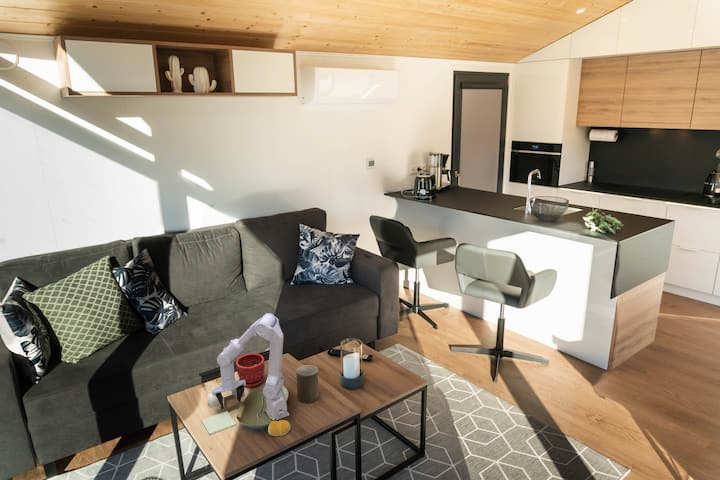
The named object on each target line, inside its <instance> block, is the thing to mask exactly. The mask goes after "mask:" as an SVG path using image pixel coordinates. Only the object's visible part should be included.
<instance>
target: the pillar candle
mask: <svg viewBox="0 0 720 480" xmlns="http://www.w3.org/2000/svg"><path fill="white" fill-rule="evenodd" d="M295 373H296V375H295V376H296V396H297V397H296V398H297V401H298V402H300V403H303V404H312V403H314V402H316V401H318V400H319V398H320V397H319V368H318V367H317V366H316V365H312V364H306V365H305V364H304V365H301V366H299V367H297V368H296V371H295Z"/></svg>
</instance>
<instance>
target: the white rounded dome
mask: <svg viewBox="0 0 720 480" xmlns="http://www.w3.org/2000/svg"><path fill="white" fill-rule="evenodd" d="M206 397H207V403H208V407H210V408H217V407H218V406H220V403H219V401H218V399H217V397H216V396H213V395H212V390H211V391H209V392H208V393H207V396H206Z"/></svg>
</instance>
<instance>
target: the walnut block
mask: <svg viewBox="0 0 720 480" xmlns="http://www.w3.org/2000/svg"><path fill="white" fill-rule="evenodd" d="M238 405H239V403H238V400H237V398H236V397H235V396H234V394H232V393H231V394H230V395H226V396H223V406H224V408H223V409H225V410H226V411H227V412H228V413H230V412H232V411H236V410H238V409H239V406H238Z"/></svg>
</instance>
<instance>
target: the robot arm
mask: <svg viewBox="0 0 720 480" xmlns="http://www.w3.org/2000/svg"><path fill="white" fill-rule="evenodd" d="M279 321H280V319H279V318H278V317H276V316H275V315H274V314H273V313H270V312H267V313H265V314H263V316H262V317H260V318H258V319H257V320H256V321H255V322H254V323H252V325H250V327H248V328H247V330H246V331H245V332H244V333H243V334H242V336H240V338H234V339H231V340H230V341H229V344H228V345H227V346H225V347H224V348H223V349H222V351H221V352H220V354H218V356H217V358H216V363H217V365H219V369H220V371H219V372H220V380H221V384H220V386H218V387H216V388H215V389H211V391H212V395H213V396H216V397H217V399H218V401H219V403H220V405H219V407H220V408H221V409H225V408H224V398H223V397H224V396H223V394H222V393H227V392H232V390H234V389H235V388H236V391H237V403H238V404H239V403H241V402H242V398H243V397H242V394H243V392H244V391H246V390H245V389H246V388H245V387H246V381H245V380H241V381H239V380H236V374H235V364H234V363H235V361H234V360H235V358H237V357H238V356H239V355H240V353H242V352H243V351H244V350H245V347H246V345H245V344H246V343H247V342H248V341H249V340H250V339H252V337H254V336H255V337H258V336H259V337H261V338H263V339H265V340H267V342H269V343H270V344H269V356H268V369H267V370H268V373H267V378H266V381H265V385H264V387H263V389H262V394H263V396H264V397H265V400H266V401H265V403H266V404H265V405H266V409H267V413H268V414H270V415H272V416H273V417H274V418H275V419H276V420H275V421H279V420H282V419H283V418H286V417H289V416H290V413H289V412H288V405H287V401H286V400H285V398H284V390H283V387H284V385H285V380H284V379H285V378H284V377H283V375H284V374H283V373H282V364H283V363H282V362H283V361H282V359H283V349H284V333H283V332H282V329H281V326H280V323H279ZM241 397H242V398H241Z"/></svg>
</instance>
